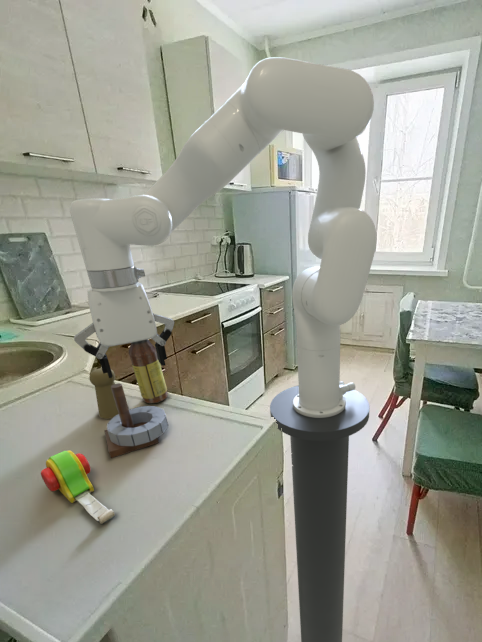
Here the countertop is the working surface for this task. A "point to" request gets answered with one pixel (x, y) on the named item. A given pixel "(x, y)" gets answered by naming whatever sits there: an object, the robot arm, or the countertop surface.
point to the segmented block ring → (141, 433)
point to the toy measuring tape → (74, 482)
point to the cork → (104, 393)
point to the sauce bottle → (148, 371)
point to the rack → (124, 424)
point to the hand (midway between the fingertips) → (136, 369)
